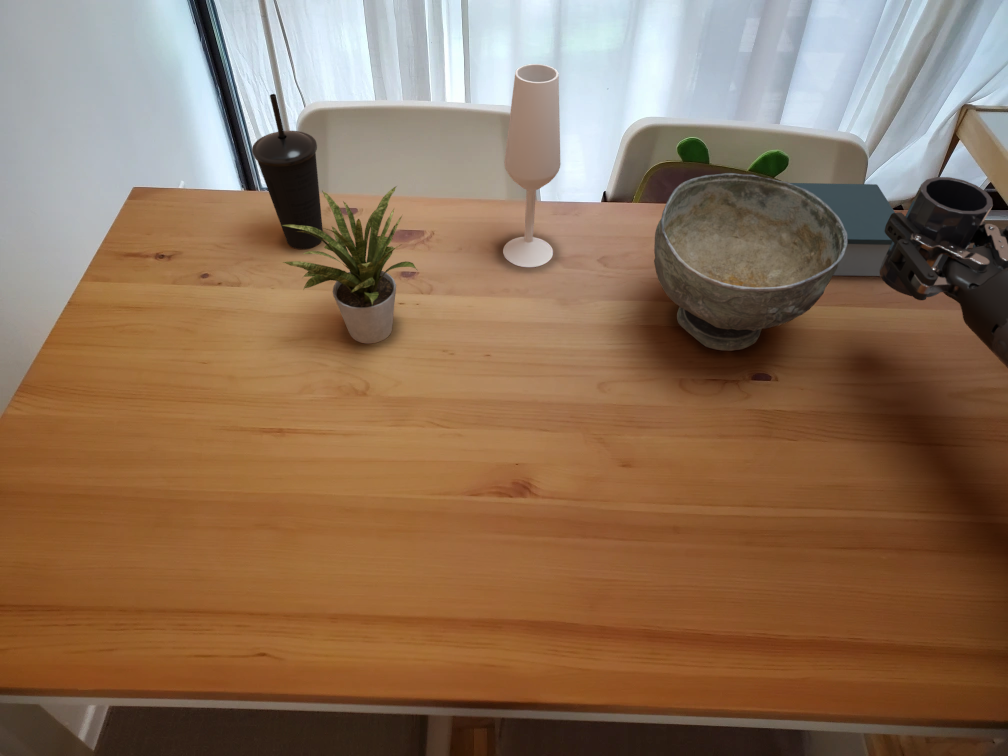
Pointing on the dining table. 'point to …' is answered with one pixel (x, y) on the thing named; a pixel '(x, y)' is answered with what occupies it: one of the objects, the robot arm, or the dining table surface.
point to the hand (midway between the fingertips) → (922, 216)
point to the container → (858, 224)
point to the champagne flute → (533, 152)
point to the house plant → (358, 272)
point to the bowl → (744, 255)
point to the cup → (942, 219)
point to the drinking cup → (291, 180)
